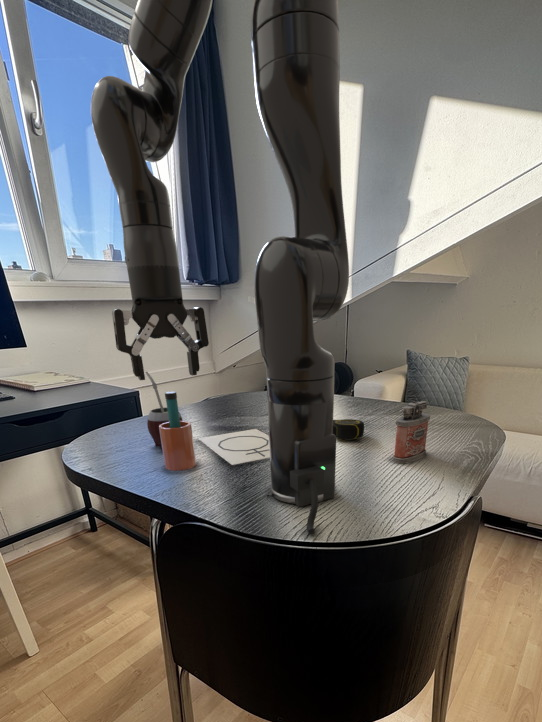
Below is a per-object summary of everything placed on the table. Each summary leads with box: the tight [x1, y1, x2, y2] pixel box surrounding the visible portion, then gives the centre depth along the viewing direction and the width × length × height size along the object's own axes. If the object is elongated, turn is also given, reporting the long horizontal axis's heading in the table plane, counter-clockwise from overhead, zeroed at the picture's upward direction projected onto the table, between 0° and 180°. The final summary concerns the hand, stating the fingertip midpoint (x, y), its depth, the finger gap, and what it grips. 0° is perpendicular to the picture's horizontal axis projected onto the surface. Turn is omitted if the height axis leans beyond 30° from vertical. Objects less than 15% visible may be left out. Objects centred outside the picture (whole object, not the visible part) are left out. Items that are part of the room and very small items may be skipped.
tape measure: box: [333, 418, 365, 441], centre depth 87 cm, size 7×7×4 cm
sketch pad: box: [197, 428, 270, 466], centre depth 85 cm, size 20×14×1 cm
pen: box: [164, 391, 181, 428], centre depth 72 cm, size 2×2×13 cm
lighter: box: [392, 400, 431, 464], centre depth 74 cm, size 8×3×10 cm, turn 129°
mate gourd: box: [144, 371, 184, 452], centre depth 83 cm, size 8×8×15 cm
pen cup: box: [159, 420, 197, 472], centre depth 73 cm, size 5×5×8 cm
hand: (168, 377), depth 68 cm, fingers open, 8 cm apart
